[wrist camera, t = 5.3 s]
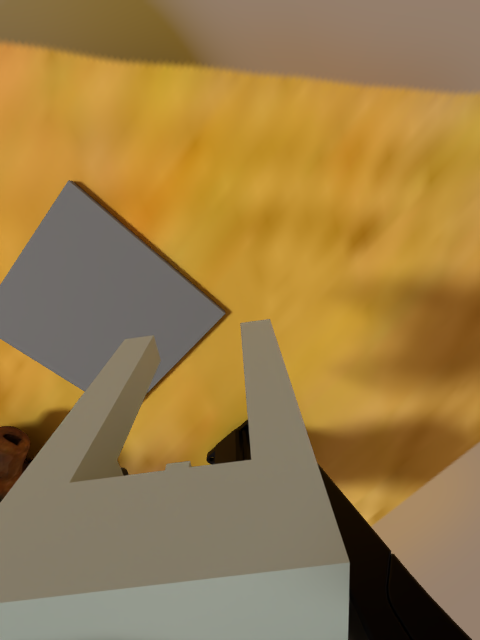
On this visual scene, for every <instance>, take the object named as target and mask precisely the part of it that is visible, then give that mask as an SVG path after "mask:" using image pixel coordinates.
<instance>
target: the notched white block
mask: <svg viewBox="0 0 480 640" xmlns="http://www.w3.org/2000/svg"><path fill="white" fill-rule="evenodd" d="M240 324H241V336H242V349H243V362H244V374H245V387H246V399H247V412H248V425H249V437H250V450H251V460H245V461H237V462H229V463H221V464H213V465H205V466H197V467H191V464H190V461H186V462H179V463H171V464H166V469H165V471H158V472H150V473H142V474H134V475H126V476H124V475H123V473H122V470H121V468H120V466H119V463H118V461H117V459H118V457H119V455H120V452H121V450H122V448H123V445H124V443H125V441H126V439H127V436H128V434H129V432H130V430H131V427H132V425H133V423H134V420H135V418H136V416H137V414H138V411H139V409H140V407H141V404H142V402H143V400H144V398H145V395H146V393H147V391H148V388H149V386H150V384H151V382H152V379H153V377H154V375H155V372H156V370H157V368H158V366H159V363H160V361H161V359H160V356H159V352H158V349H157V345H156V342H155V338H154V335H152V336H145V337H137V338H130V339H125V340H124V341H123V343H122V344H121V345H120V346H119V348H118V349H117V350H116V352H115V353H114V354H113V356H112V357H111V358H110V360H109V361H108V362H107V364H106V365H105V366H104V367H103V369H102V370H101V371H100V373H99V374H98V375H97V377H96V378H95V379H94V381H93V382H92V383H91V384H90V386H89V387H88V388H87V390H86V391H85V392H84V394H83V395H82V396H81V398H80V399H79V400H78V402H77V403H76V404H75V405H74V407H73V408H72V409H71V411H70V412H69V413H68V415H67V416H66V417H65V419H64V420H63V421H62V422H61V424H60V425H59V426H58V428H57V429H56V430H55V432H54V433H53V434H52V436H51V437H50V438H49V440H48V441H47V442H46V443H45V445H44V446H43V447H42V449H41V450H40V451H39V453H38V454H37V455H36V457H35V458H34V459H33V461H32V462H31V463H30V464H29V466H28V467H27V468H26V470H25V471H24V472H23V474H22V475H21V476H20V478H19V479H18V480H17V481H16V483H15V484H14V485H13V487H12V488H11V489H10V491H9V492H8V493H7V495H6V496H5V497H4V499H3V500H2V501H1V502H0V640H348V617H349V574H350V562H349V559H348V555H347V552H346V549H345V546H344V543H343V540H342V537H341V534H340V531H339V528H338V525H337V522H336V519H335V516H334V513H333V510H332V507H331V504H330V501H329V498H328V495H327V492H326V489H325V486H324V483H323V480H322V477H321V473H320V470H319V467H318V464H317V461H316V458H315V455H314V452H313V449H312V446H311V443H310V440H309V437H308V434H307V431H306V428H305V425H304V422H303V419H302V416H301V413H300V410H299V407H298V404H297V401H296V398H295V394H294V391H293V388H292V385H291V382H290V379H289V376H288V373H287V370H286V367H285V364H284V361H283V358H282V355H281V352H280V349H279V346H278V343H277V340H276V337H275V334H274V331H273V328H272V325H271V322H270V319H267V320H260V321H252V322H245V323H240Z"/></svg>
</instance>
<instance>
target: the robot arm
mask: <svg viewBox="0 0 480 640" xmlns="http://www.w3.org/2000/svg"><path fill="white" fill-rule="evenodd" d="M211 457H213V458H211ZM245 460H251V450H250V437H249V425H248V420H246V421H245V422H244V423H243V424H242V425H241V426H239V427H238V428H237V429H235V430H234V431H232V432H231V433H230V434H229V435H228V436H226V437H225V438H224V439H223V440H222V441H221V442H219V443H218V444H217V445H216V447H215V448H213V449H212V450H211V451H210V452H209V453H208V454H207V462H208V463H210V464H212V465H213V464H221V463H229V462H237V461H245ZM317 464H318V463H317ZM318 467H319V470H320V473H321V477H322V480H323V483H324V486H325V489H326V492H327V495H328V498H329V501H330V504H331V507H332V510H333V513H334V516H335V519H336V522H337V525H338V528H339V531H340V534H341V537H342V540H343V543H344V546H345V549H346V552H347V555H348V559H349V562H350V574H349V617H348V640H472V639H471V638H470V637H469V636H468V635H467V634H466V633H465V632H464V631H463V630H462V629H461V628H460V627H459V626H458V625H457V624H456V623H455V622H454V621H453V620H452V619H451V618H450V616H449V615H448V614H447V613H445V611H444V610H443V609H442V608H441V607H440V606H439V605H438V604H437V603H436V602H435V601H434V600H433V599H432V598H431V596H430V595H429V594H428V593H427V592H426V591H425V590H424V589H423V587H422V586H421V585H420V584H419V583H418V582H417V581H416V579H415V578H414V577H413V576H412V575H411V574H410V573H409V572H408V570H407V569H406V568H405V567H404V566H403V564H402V563H401V562H400V561H399V560H398V558H397V557H396V556H395V555H394V554H391V550H390V549H389V548H388V547H387V546H386V544H385V543H384V542H383V541H382V540H381V538H380V537H379V536H378V535H377V534H376V532H375V531H374V530H373V529H372V528H371V526H370V525H369V524H368V523H367V522H366V520H365V519H364V518H363V517H362V516H361V514H360V513H359V512H358V511H357V510H356V508H355V507H354V506H353V505H352V504H351V503H350V501H349V500H348V499H347V498H346V497H345V495H344V494H343V493H342V492H341V491H340V489H339V488H338V487H337V486H336V485H335V483H334V482H333V481H332V480H331V479H330V477H329V476H328V475H327V474H326V473H325V471H324V470H323V469H322V468H321V467H320V466H319V464H318ZM121 470H122V473H123V475H124V476H126V475H129V474H128V472H127V470H126V469H125V468H121Z"/></svg>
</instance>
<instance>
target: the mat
mask: <svg viewBox="0 0 480 640" xmlns="http://www.w3.org/2000/svg"><path fill="white" fill-rule="evenodd" d="M224 314H225V311H224V310H223V309H222V308H220V307H219V306H218V305H217V304H216V303H215V302H213V301H212V300H211V299H210V298H209V297H208V296H206V295H205V294H204V293H203V292H202V291H201V290H199V289H198V288H197V287H196V286H195V285H194V284H192V283H191V282H190V281H189V280H188V279H186V278H185V277H184V276H183V275H182V274H181V273H179V272H178V271H177V270H176V269H175V268H174V267H172V266H171V265H170V264H169V263H168V262H167V261H165V260H164V259H163V258H162V257H161V256H160V255H158V254H157V253H156V252H155V251H154V250H153V249H151V248H150V247H149V246H148V245H147V244H145V243H144V242H143V241H142V240H141V239H140V238H138V237H137V236H136V235H135V234H134V233H133V232H131V231H130V230H129V229H128V228H127V227H126V226H124V225H123V224H122V223H121V222H120V221H119V220H117V219H116V218H115V217H114V216H113V215H112V214H110V213H109V212H108V211H107V210H106V209H104V208H103V207H102V206H101V205H100V204H99V203H97V202H96V201H95V200H94V199H93V198H92V197H90V196H89V195H88V194H87V193H86V192H85V191H83V190H82V189H81V188H80V187H79V186H78V185H76V184H75V183H74V182H73V181H68V182H67V184H66V185H65V187H64V188H63V190H62V191H61V193H60V194H59V196H58V197H57V199H56V201H55V202H54V204H53V205H52V207H51V208H50V210H49V211H48V213H47V214H46V216H45V217H44V219H43V220H42V222H41V223H40V225H39V227H38V228H37V230H36V231H35V233H34V234H33V236H32V237H31V239H30V240H29V242H28V243H27V245H26V246H25V248H24V249H23V251H22V253H21V254H20V256H19V257H18V259H17V260H16V262H15V263H14V265H13V266H12V268H11V269H10V271H9V272H8V274H7V275H6V277H5V279H4V280H3V282H2V283H1V285H0V339H2V340H3V341H5V342H6V343H8V344H10V345H11V346H13V347H14V348H16V349H18V350H19V351H21V352H22V353H24V354H26V355H27V356H29V357H30V358H32V359H34V360H35V361H37V362H38V363H40V364H42V365H43V366H45V367H46V368H48V369H50V370H51V371H53V372H54V373H56V374H58V375H59V376H61V377H62V378H64V379H66V380H67V381H69V382H70V383H72V384H74V385H75V386H77V387H78V388H80V389H82V390H83V391H86V390H87V388H88V387H89V386H90V384H91V383H92V382H93V381H94V379H95V378H96V377H97V375H98V374H99V373H100V371H101V370H102V369H103V367H104V366H105V365H106V364H107V362H108V361H109V360H110V358H111V357H112V356H113V354H114V353H115V352H116V350H117V349H118V348H119V346H120V345H121V344H122V343H123V341H124V340H125V339H130V338H137V337H145V336H152V335H154V338H155V342H156V345H157V349H158V352H159V356H160V359H161V361H160V363H159V366H158V368H157V370H156V372H155V375H154V377H153V379H152V382H151V384H150V386H149V388H148V391H147V393H148V392H149V391H150V390H151V389H152V388H153V387H154V386H155V385H156V384H157V383H158V381H159V380H160V379H161V378H162V377H163V376H164V375H165V374H166V373H167V372H168V371H169V370H170V369H171V368H172V367H173V366H174V365H175V364H176V363H177V362H178V361H179V360H180V359H181V358H182V357H183V356H184V355H185V354H186V353H187V352H188V351H189V350H190V349H191V348H192V347H193V346H194V345H195V344H196V343H197V342H198V341H199V340H200V339H201V338H202V337H203V336H204V335H205V334H206V333H207V332H208V331H209V330H210V329H211V328H212V327H213V326H214V325H215V324H216V323H217V322H218V320H219V319H220V318H221V317H222V316H223V315H224ZM147 393H146V394H147Z"/></svg>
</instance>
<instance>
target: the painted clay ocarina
mask: <svg viewBox="0 0 480 640" xmlns="http://www.w3.org/2000/svg"><path fill="white" fill-rule="evenodd" d="M29 448H30V439H29V437H28V435H27V434H26V433H25V432H23V431H21V430H20V429H17V428H15V427H11V426H2V427H0V502H1V501H2V500H3V499H4V497H5V496H6V495H7V493H8V492H9V491H10V489H11V488H12V487H13V485H14V484H15V483H16V481H17V480H18V479H19V478H20V476H21V475H22V474H23V472H24V471H25V470H26V468H27V467H28V466H29V464H30V463H24V460H25V458H26V456H27V453H28V451H29Z"/></svg>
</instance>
